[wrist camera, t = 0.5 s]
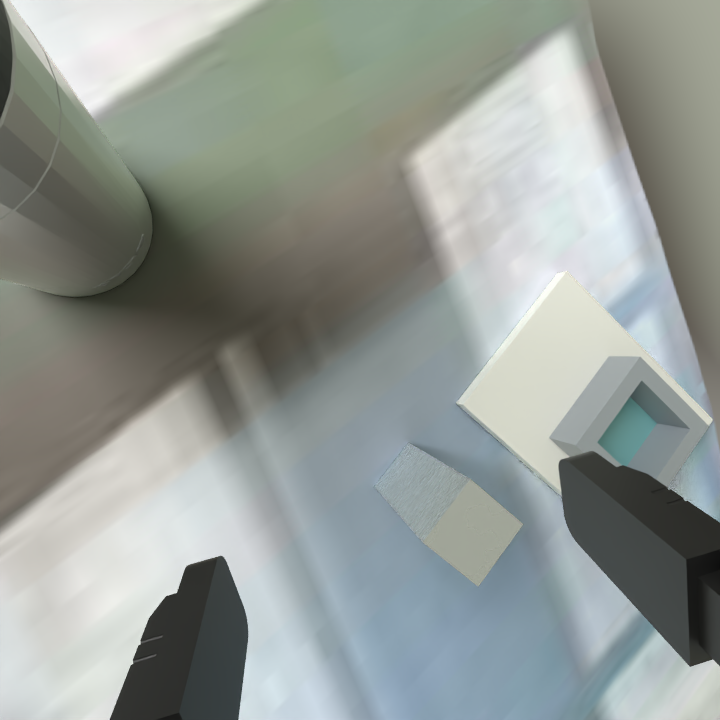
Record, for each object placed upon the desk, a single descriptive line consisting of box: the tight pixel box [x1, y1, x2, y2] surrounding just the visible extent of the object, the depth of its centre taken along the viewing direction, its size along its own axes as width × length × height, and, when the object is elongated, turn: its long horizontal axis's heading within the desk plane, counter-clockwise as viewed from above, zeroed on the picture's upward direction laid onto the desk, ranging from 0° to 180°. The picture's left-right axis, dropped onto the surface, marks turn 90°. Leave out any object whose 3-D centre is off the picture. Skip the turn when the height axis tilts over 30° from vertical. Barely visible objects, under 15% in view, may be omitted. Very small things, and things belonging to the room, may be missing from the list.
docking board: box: [456, 271, 713, 497], centre depth 35 cm, size 18×13×4 cm
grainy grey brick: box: [374, 443, 523, 586], centre depth 29 cm, size 4×4×10 cm
